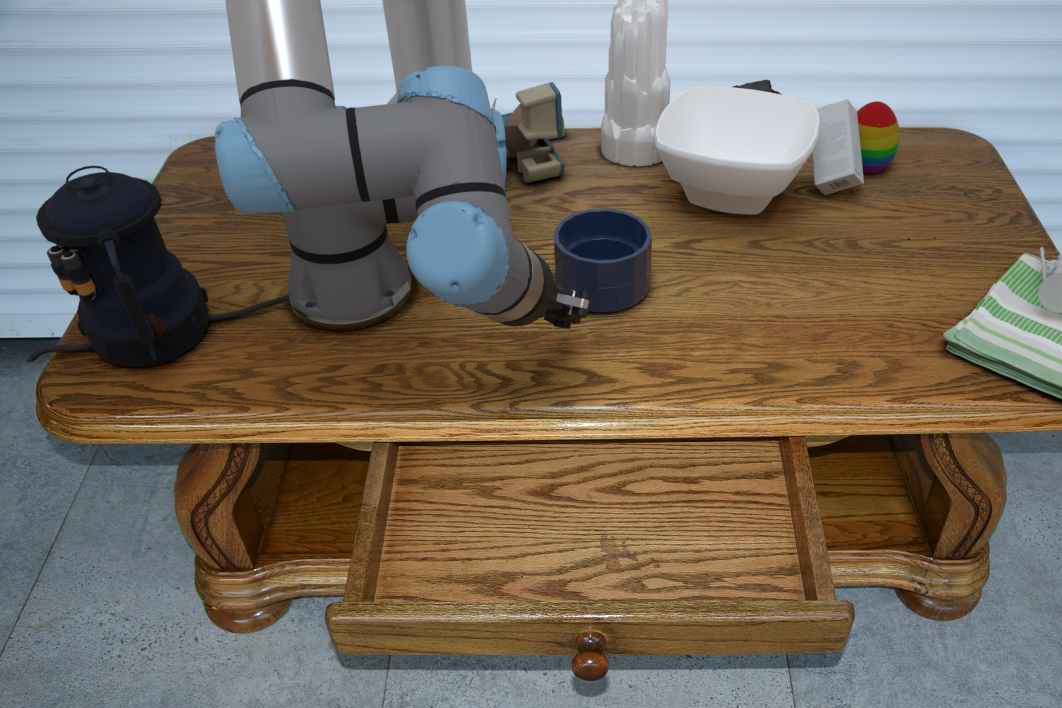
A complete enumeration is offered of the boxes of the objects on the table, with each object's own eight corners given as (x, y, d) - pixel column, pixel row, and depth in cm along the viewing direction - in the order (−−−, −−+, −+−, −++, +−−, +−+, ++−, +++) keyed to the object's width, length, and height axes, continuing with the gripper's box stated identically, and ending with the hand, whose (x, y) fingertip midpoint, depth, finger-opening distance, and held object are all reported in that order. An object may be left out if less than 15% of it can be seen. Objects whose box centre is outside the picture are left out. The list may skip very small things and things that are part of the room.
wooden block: (507, 151, 139) (525, 127, 145) (531, 150, 138) (549, 125, 143) (499, 126, 137) (519, 102, 142) (524, 124, 135) (543, 100, 141)
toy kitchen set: (484, 49, 141) (550, 37, 144) (493, 137, 151) (555, 125, 154) (523, 99, 129) (595, 85, 132) (530, 191, 139) (597, 176, 141)
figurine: (1049, 267, 110) (1045, 230, 120) (1030, 305, 114) (1028, 266, 123) (1095, 279, 109) (1087, 241, 119) (1075, 318, 112) (1069, 278, 122)
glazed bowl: (558, 318, 117) (556, 265, 111) (553, 262, 125) (551, 210, 120) (654, 313, 117) (657, 259, 112) (643, 258, 126) (645, 206, 121)
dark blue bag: (80, 310, 117) (104, 418, 105) (6, 165, 102) (24, 272, 90) (201, 277, 122) (237, 377, 110) (148, 133, 106) (183, 232, 94)
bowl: (792, 251, 127) (804, 174, 119) (635, 222, 132) (637, 147, 124) (819, 172, 142) (831, 99, 134) (677, 149, 147) (681, 78, 139)
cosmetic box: (864, 185, 135) (858, 110, 138) (854, 174, 131) (848, 97, 134) (824, 196, 138) (819, 123, 141) (813, 185, 135) (807, 110, 137)
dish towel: (935, 348, 112) (940, 330, 110) (1014, 263, 125) (1019, 246, 123) (1087, 413, 103) (1095, 394, 101) (1155, 314, 116) (1163, 296, 114)
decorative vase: (664, 170, 143) (672, 2, 126) (595, 163, 145) (594, -4, 127) (674, 136, 151) (683, -26, 134) (608, 130, 152) (609, -31, 135)
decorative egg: (888, 152, 146) (902, 91, 140) (897, 179, 140) (912, 116, 134) (835, 150, 147) (846, 89, 140) (841, 177, 141) (854, 115, 134)
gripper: (581, 253, 86) (626, 294, 109) (449, 231, 88) (520, 276, 112) (565, 333, 86) (613, 358, 109) (433, 309, 88) (507, 338, 111)
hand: (566, 316), depth 110 cm, fingers closed
